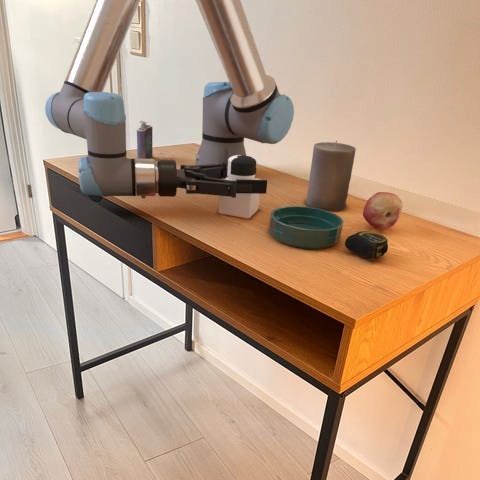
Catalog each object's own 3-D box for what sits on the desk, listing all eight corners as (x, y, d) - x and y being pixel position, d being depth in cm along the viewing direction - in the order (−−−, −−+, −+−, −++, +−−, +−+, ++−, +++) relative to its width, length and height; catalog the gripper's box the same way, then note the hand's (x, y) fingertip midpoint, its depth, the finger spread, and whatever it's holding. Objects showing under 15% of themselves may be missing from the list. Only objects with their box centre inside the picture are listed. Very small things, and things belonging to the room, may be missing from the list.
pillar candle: (353, 208, 118) (366, 144, 110) (322, 213, 113) (333, 145, 106) (327, 197, 125) (338, 135, 117) (297, 200, 120) (305, 136, 113)
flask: (144, 164, 140) (143, 124, 135) (134, 162, 140) (133, 123, 135) (154, 157, 148) (153, 119, 143) (144, 156, 148) (143, 118, 143)
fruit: (359, 231, 104) (366, 194, 100) (361, 220, 111) (368, 185, 107) (396, 237, 103) (405, 200, 99) (396, 226, 109) (405, 190, 105)
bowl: (289, 219, 108) (292, 201, 106) (350, 236, 102) (354, 217, 100) (255, 236, 97) (257, 217, 95) (320, 256, 91) (324, 236, 89)
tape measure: (341, 251, 94) (344, 233, 92) (365, 245, 97) (369, 227, 96) (367, 265, 89) (371, 246, 87) (392, 258, 93) (397, 239, 91)
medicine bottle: (258, 210, 112) (263, 156, 106) (248, 219, 106) (253, 162, 100) (229, 204, 114) (232, 151, 107) (218, 213, 108) (220, 157, 102)
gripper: (154, 181, 114) (248, 183, 118) (160, 213, 95) (271, 213, 100) (153, 147, 110) (251, 150, 114) (159, 174, 91) (275, 176, 96)
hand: (260, 180), depth 107 cm, fingers closed on medicine bottle, 9 cm apart
